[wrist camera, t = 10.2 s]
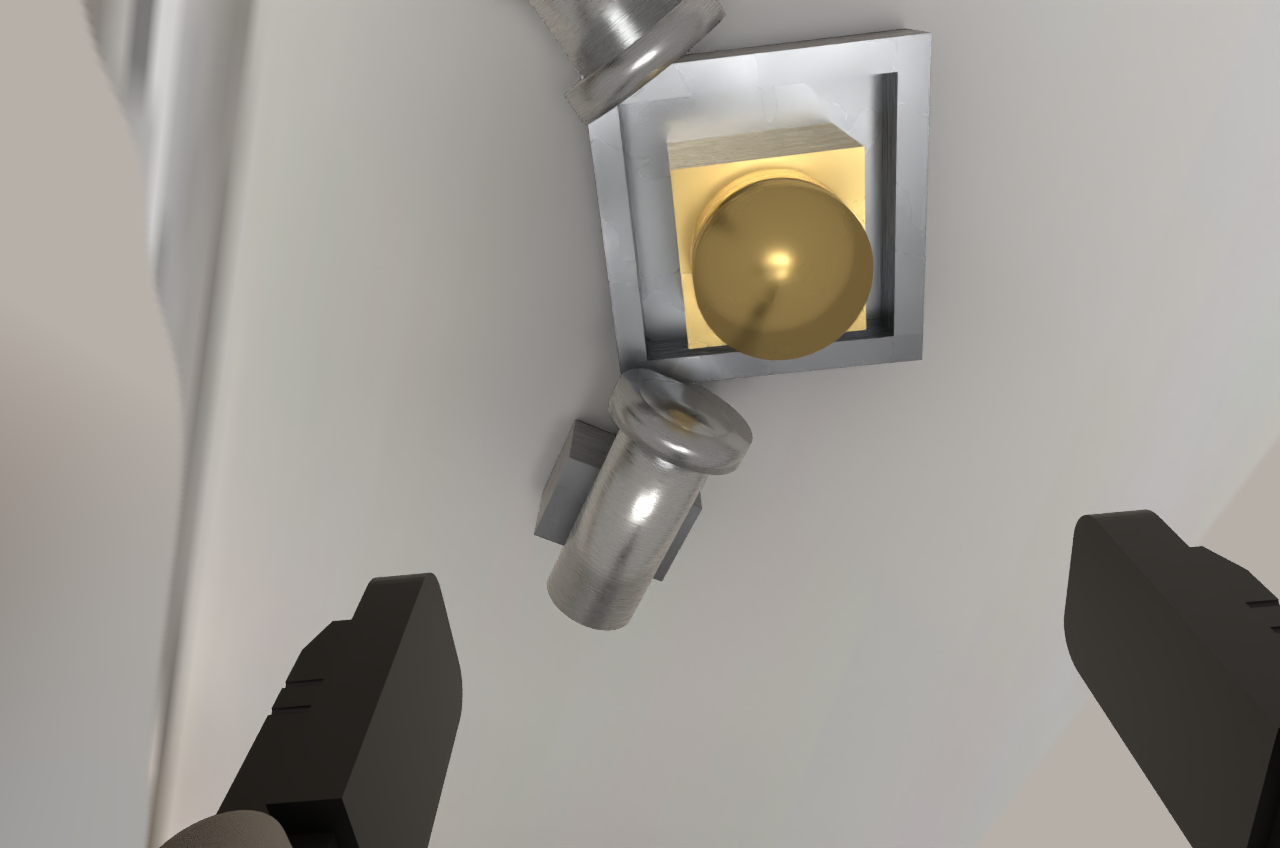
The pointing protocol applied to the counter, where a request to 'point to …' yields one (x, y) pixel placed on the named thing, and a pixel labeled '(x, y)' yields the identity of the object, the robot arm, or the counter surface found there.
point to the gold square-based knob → (772, 239)
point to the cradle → (754, 102)
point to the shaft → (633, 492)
